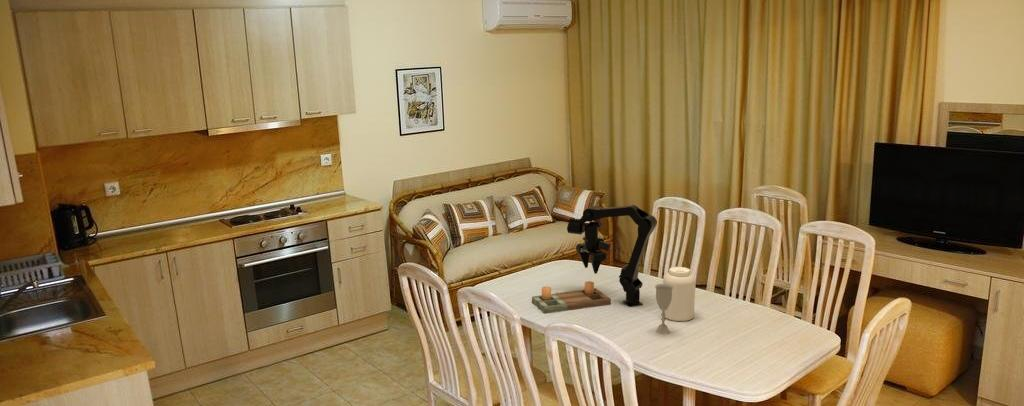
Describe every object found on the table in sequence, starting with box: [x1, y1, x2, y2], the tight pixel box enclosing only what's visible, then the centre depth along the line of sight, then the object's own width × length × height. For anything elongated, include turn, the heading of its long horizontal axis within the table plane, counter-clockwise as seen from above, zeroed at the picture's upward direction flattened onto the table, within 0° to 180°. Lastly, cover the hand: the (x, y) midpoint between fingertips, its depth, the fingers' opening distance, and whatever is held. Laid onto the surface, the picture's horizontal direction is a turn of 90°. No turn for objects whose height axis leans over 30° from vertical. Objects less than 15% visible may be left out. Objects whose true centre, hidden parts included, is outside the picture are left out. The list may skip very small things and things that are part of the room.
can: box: [662, 266, 696, 322], centre depth 301 cm, size 12×12×20 cm
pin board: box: [531, 287, 612, 314], centre depth 320 cm, size 15×30×2 cm, turn 109°
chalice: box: [654, 283, 673, 335], centre depth 285 cm, size 7×7×18 cm
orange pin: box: [584, 280, 595, 295], centre depth 325 cm, size 4×4×7 cm
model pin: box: [541, 286, 552, 301], centre depth 319 cm, size 4×4×7 cm
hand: (591, 270), depth 325 cm, fingers open, 9 cm apart
